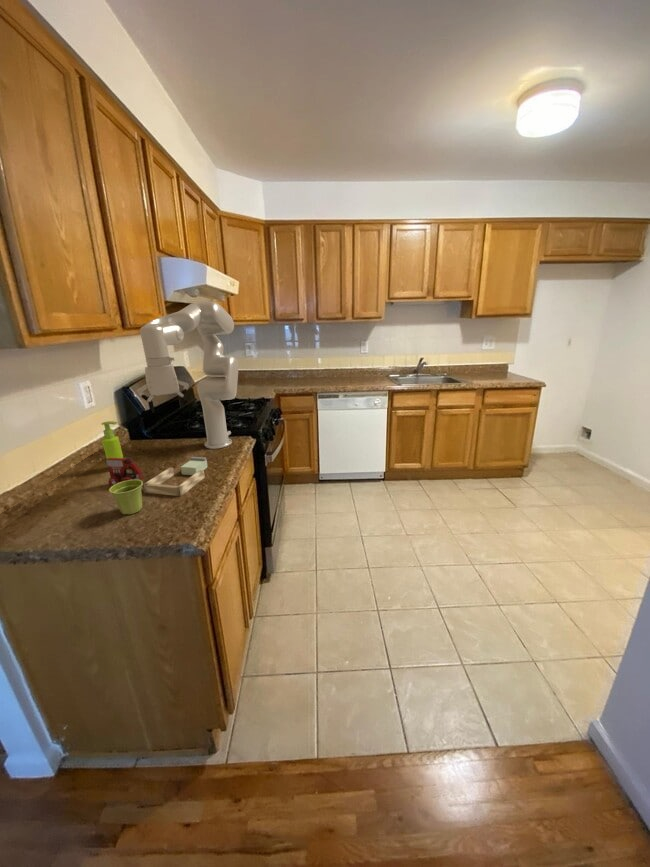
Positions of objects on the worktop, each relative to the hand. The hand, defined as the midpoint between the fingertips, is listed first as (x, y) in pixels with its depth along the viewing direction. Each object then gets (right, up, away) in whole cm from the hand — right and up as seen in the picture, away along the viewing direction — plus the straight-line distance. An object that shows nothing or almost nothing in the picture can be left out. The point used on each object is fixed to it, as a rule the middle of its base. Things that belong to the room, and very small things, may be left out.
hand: (167, 409), depth 129 cm
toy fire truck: (-17, -28, +3) cm, 33 cm away
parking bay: (+3, -28, +1) cm, 28 cm away
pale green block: (+5, -24, +12) cm, 28 cm away
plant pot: (-5, -34, -15) cm, 37 cm away
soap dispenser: (-28, -23, +18) cm, 41 cm away
